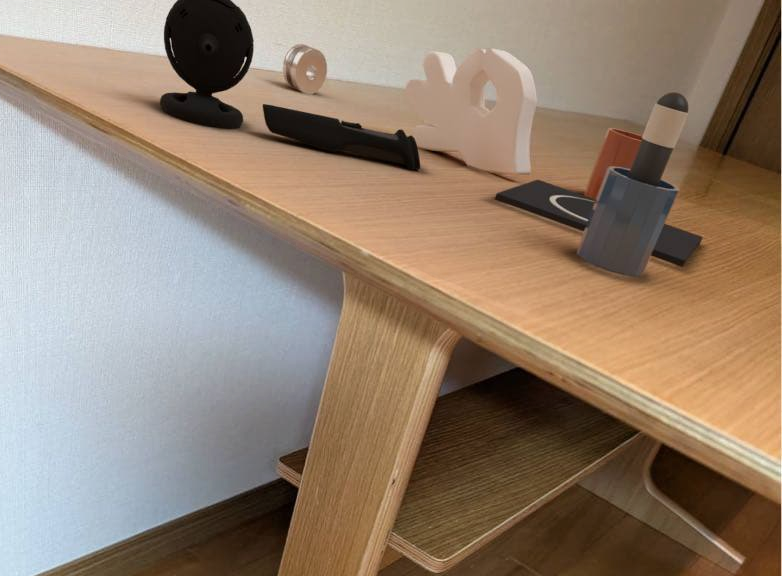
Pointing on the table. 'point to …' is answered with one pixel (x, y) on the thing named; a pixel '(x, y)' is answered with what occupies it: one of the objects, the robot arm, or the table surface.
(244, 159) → the table surface
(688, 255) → the drawing pad
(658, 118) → the rod
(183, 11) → the webcam
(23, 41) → the table surface
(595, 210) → the pen cup
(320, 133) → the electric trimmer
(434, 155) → the table surface
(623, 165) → the pen pot
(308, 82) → the metal grooved wheel
